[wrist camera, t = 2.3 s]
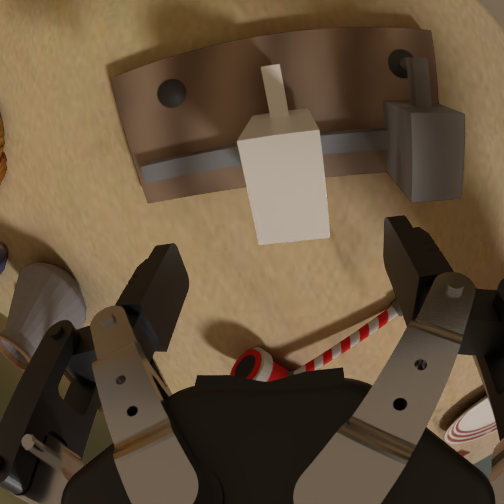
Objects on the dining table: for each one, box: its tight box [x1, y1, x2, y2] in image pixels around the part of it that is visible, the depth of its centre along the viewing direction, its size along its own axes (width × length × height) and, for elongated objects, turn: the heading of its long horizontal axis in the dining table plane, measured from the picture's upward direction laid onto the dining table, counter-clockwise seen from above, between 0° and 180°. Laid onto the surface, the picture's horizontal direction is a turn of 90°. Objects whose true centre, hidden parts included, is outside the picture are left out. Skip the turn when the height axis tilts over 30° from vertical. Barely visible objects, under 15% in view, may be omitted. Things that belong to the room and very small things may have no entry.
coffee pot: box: [0, 263, 104, 412], centre depth 32 cm, size 21×12×15 cm, turn 74°
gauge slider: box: [237, 64, 330, 245], centre depth 19 cm, size 4×10×9 cm, turn 11°
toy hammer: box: [230, 299, 403, 382], centre depth 36 cm, size 23×12×6 cm, turn 136°
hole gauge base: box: [110, 27, 465, 203], centre depth 20 cm, size 26×12×8 cm, turn 101°
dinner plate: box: [444, 395, 497, 444], centre depth 47 cm, size 28×27×3 cm
